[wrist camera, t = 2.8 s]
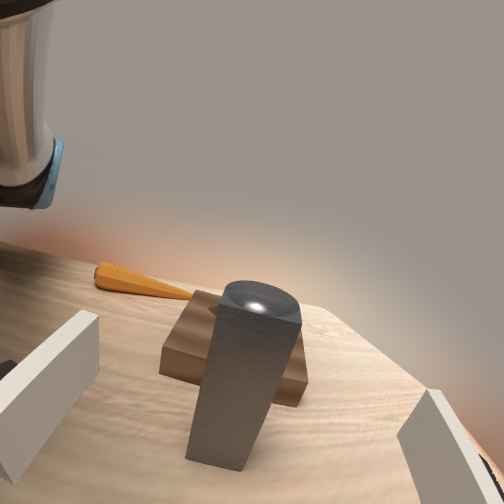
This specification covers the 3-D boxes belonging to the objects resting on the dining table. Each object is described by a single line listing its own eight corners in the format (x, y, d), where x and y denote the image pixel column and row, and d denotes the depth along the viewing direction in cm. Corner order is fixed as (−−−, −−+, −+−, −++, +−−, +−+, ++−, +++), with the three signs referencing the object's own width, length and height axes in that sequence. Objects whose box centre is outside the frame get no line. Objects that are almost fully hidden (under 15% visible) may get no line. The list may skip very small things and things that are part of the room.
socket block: (296, 407, 33) (308, 382, 32) (159, 373, 33) (162, 345, 32) (291, 337, 48) (299, 316, 47) (191, 312, 48) (195, 289, 47)
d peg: (241, 471, 23) (302, 324, 18) (185, 458, 23) (219, 303, 18) (245, 433, 27) (297, 291, 23) (196, 421, 27) (230, 274, 23)
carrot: (91, 292, 46) (92, 273, 44) (97, 272, 50) (99, 253, 47) (206, 319, 53) (214, 303, 50) (206, 299, 56) (214, 283, 54)
